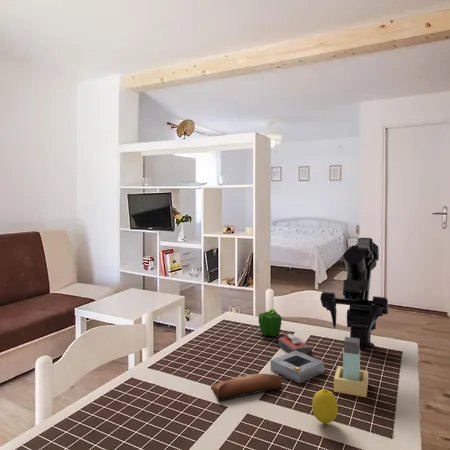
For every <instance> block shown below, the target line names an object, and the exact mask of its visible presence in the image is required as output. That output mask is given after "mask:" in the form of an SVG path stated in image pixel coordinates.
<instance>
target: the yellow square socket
mask: <svg viewBox="0 0 450 450" xmlns="http://www.w3.org/2000/svg"><path fill="white" fill-rule="evenodd" d="M368 386H369V370H364V369H360V381H357V380H351V379H345V378H343V366H338V365H337V368H336V371H335V374H334V378H333V392H335V393H339V394H346V395H352V396H356V397H362V398H363V397H364V398H367V394H368Z"/></svg>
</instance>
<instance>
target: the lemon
mask: <svg viewBox="0 0 450 450" xmlns="http://www.w3.org/2000/svg"><path fill="white" fill-rule="evenodd" d="M311 403H312V405H311V410H312V412H313V415H314V418H315V419H317V420H318V421H319V422H320V423H322V424H323V425H326V424H330V423H332V422H333V421H334V420H336V418H337V416H338V412H339V410H338V409H339V408H338V407H339V406H338V401H337V398H336V396H335V394H333V392H331V391H330V390H328V389H326V388H323V389H321V390H320V389H319V390H318V391H317V392H315V393H314V395H313V398H312V402H311Z"/></svg>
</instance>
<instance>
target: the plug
mask: <svg viewBox="0 0 450 450" xmlns="http://www.w3.org/2000/svg"><path fill="white" fill-rule="evenodd" d="M359 342H360V338H352V337H350V336H345V337H344V340H343V351H342V367H343V378H345V379H351V380H357V381H360V370H361V349H360V348H359Z"/></svg>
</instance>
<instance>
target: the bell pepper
mask: <svg viewBox="0 0 450 450" xmlns="http://www.w3.org/2000/svg"><path fill="white" fill-rule="evenodd" d="M258 325H259V329H260V332H261V334H262V335H263V336H265V337H266V336H267V337H268V336H271V337H276V336H278V335H279V334H280V332H281V331H280V330H281V328H282V317H281V315H280V314H279V313H278V312H277V311H276V309H273V308H271V309H270V310H269V311H268V310H267V311H265V312H261V313H260V312H259V314H258Z"/></svg>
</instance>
